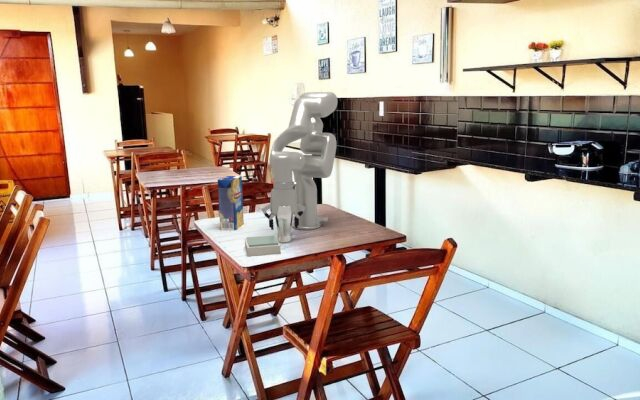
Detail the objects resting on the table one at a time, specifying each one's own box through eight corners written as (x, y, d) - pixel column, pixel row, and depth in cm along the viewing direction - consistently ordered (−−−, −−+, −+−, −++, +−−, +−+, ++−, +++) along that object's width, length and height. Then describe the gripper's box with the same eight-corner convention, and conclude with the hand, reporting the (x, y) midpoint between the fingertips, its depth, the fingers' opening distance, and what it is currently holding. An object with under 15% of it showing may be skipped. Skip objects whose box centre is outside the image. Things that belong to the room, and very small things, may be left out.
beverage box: (243, 224, 238) (241, 176, 233) (235, 230, 227) (232, 180, 222) (229, 223, 239) (227, 175, 234) (220, 229, 228) (217, 179, 224)
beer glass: (286, 244, 206) (285, 207, 203) (272, 242, 209) (271, 205, 206) (296, 240, 211) (295, 203, 208) (282, 237, 215) (281, 201, 212)
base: (275, 244, 206) (275, 234, 205) (280, 253, 194) (280, 243, 193) (245, 246, 203) (244, 236, 202) (247, 256, 192) (247, 245, 191)
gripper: (302, 183, 211) (303, 224, 215) (259, 185, 207) (261, 227, 211) (306, 186, 204) (307, 229, 208) (262, 188, 200) (263, 232, 204)
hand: (284, 228), depth 209 cm, fingers open, 9 cm apart
